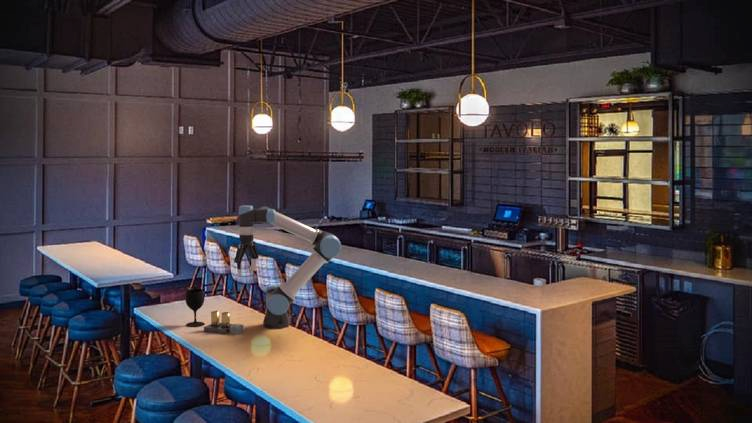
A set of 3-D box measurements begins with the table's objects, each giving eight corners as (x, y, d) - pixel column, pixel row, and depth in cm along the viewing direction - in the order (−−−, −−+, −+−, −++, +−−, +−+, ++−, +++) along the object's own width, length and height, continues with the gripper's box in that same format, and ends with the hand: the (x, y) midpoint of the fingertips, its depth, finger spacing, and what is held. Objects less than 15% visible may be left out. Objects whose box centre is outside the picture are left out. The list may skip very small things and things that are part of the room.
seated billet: (225, 329, 354) (225, 311, 352) (231, 330, 352) (231, 312, 350) (219, 331, 350) (219, 312, 349) (225, 332, 348) (225, 314, 347)
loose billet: (214, 328, 356) (214, 310, 355) (221, 329, 354) (220, 310, 353) (209, 330, 352) (209, 312, 351) (216, 331, 350) (216, 312, 349)
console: (235, 330, 351) (235, 323, 351) (243, 331, 349) (243, 324, 349) (229, 333, 345) (229, 326, 345) (237, 334, 344) (237, 327, 343)
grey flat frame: (215, 326, 359) (215, 322, 359) (236, 329, 355) (236, 324, 354) (203, 331, 349) (203, 326, 349) (225, 334, 344) (225, 329, 344)
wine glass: (201, 327, 357) (201, 292, 355) (183, 327, 357) (182, 292, 355) (206, 322, 367) (206, 288, 366) (189, 322, 368) (188, 288, 366)
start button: (235, 326, 349) (235, 323, 349) (240, 327, 348) (240, 323, 348) (232, 328, 346) (232, 324, 346) (237, 328, 345) (237, 325, 345)
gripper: (253, 231, 355) (253, 268, 357) (226, 236, 332) (227, 276, 334) (264, 231, 352) (265, 269, 354) (239, 237, 329) (239, 277, 331)
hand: (247, 272), depth 344 cm, fingers open, 13 cm apart
